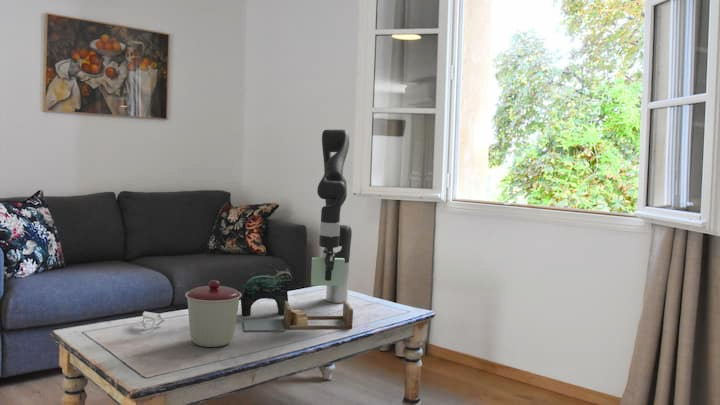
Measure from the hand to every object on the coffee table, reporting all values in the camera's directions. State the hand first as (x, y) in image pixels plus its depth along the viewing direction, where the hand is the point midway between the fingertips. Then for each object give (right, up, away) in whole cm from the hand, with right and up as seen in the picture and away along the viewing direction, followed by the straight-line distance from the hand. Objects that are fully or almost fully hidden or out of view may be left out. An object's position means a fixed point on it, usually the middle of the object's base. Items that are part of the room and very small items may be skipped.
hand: (327, 279), depth 241 cm
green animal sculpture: (-25, -15, +10) cm, 31 cm away
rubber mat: (-23, -16, -6) cm, 29 cm away
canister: (-37, -18, -29) cm, 50 cm away
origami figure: (-62, -15, -15) cm, 65 cm away
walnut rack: (-4, -17, +1) cm, 17 cm away
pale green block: (0, -2, 0) cm, 2 cm away
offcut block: (-11, -17, -1) cm, 20 cm away
